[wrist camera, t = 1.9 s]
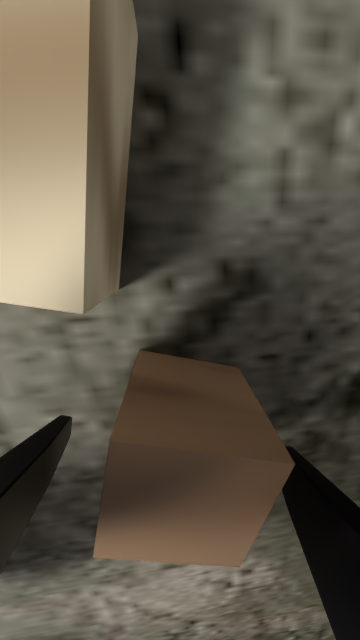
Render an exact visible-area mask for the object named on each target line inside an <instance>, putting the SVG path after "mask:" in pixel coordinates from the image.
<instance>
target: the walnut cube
mask: <svg viewBox="0 0 360 640" xmlns="http://www.w3.org/2000/svg"><path fill="white" fill-rule="evenodd" d="M294 466H295V463H294V461H293V459H292V458H291V456H290V454H289V453H288V451H287V449H286V447H285V446H284V444H283V442H282V441H281V439H280V437H279V436H278V434H277V432H276V430H275V429H274V427H273V425H272V424H271V422H270V420H269V419H268V417H267V415H266V413H265V412H264V410H263V408H262V407H261V405H260V403H259V401H258V400H257V398H256V396H255V395H254V393H253V391H252V390H251V388H250V386H249V384H248V383H247V381H246V379H245V378H244V376H243V374H242V373H241V371H240V369H239V367H234V366H228V365H222V364H216V363H211V362H205V361H199V360H194V359H188V358H182V357H177V356H171V355H165V354H159V353H154V352H148V351H142V350H139V353H138V356H137V359H136V362H135V366H134V369H133V372H132V375H131V378H130V381H129V384H128V387H127V390H126V393H125V396H124V399H123V402H122V405H121V408H120V411H119V414H118V417H117V420H116V423H115V426H114V429H113V432H112V435H111V438H110V442H109V449H108V456H107V463H106V470H105V477H104V484H103V490H102V497H101V504H100V511H99V518H98V525H97V532H96V539H95V545H94V552H93V558H106V559H121V560H136V561H152V562H167V563H182V564H197V565H212V566H227V567H240V566H241V564H242V562H243V561H244V559H245V557H246V555H247V553H248V551H249V549H250V548H251V546H252V544H253V542H254V540H255V538H256V536H257V535H258V533H259V531H260V529H261V527H262V525H263V523H264V522H265V520H266V518H267V516H268V514H269V512H270V510H271V508H272V507H273V505H274V503H275V501H276V499H277V497H278V495H279V494H280V492H281V490H282V488H283V486H284V484H285V482H286V481H287V479H288V477H289V475H290V473H291V471H292V469H293V468H294Z"/></svg>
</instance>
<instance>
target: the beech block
mask: <svg viewBox="0 0 360 640" xmlns="http://www.w3.org/2000/svg"><path fill="white" fill-rule="evenodd" d="M137 44H138V31H137V25H136V18H135V12H134V5H133V0H0V302H2V303H9V304H16V305H23V306H30V307H37V308H43V309H50V310H57V311H64V312H71V313H78V314H84V313H86V312H87V311H89V310H90V309H91V308H93V307H94V306H96V305H97V304H99V303H100V302H101V301H103V300H104V299H106V298H107V297H109V296H110V295H111V294H113V293H114V292H116V291H117V290H119V280H120V267H121V254H122V241H123V228H124V215H125V202H126V189H127V175H128V162H129V149H130V136H131V123H132V110H133V97H134V83H135V70H136V57H137Z"/></svg>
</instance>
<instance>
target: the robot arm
mask: <svg viewBox="0 0 360 640" xmlns="http://www.w3.org/2000/svg"><path fill="white" fill-rule="evenodd" d="M71 426H72V417H70V416H65V415H61V416H59V417H57V418H56V419H54V420H53V421H52V422H50V423H49V424H47V425H46V426H44V427H43V428H42V429H40V430H39V431H37V432H36V433H34V434H33V435H32V436H30V437H29V438H27V439H26V440H24V441H23V442H22V443H20V444H19V445H17V446H16V447H14V448H13V449H12V450H10V451H9V452H7V453H6V454H4V455H3V456H2V457H0V573H1V571H2V569H3V567H4V566H5V564H6V562H7V560H8V558H9V556H10V555H11V553H12V551H13V549H14V547H15V546H16V544H17V542H18V540H19V538H20V536H21V535H22V533H23V531H24V529H25V527H26V526H27V524H28V522H29V520H30V518H31V516H32V515H33V513H34V511H35V509H36V507H37V505H38V504H39V502H40V500H41V498H42V496H43V495H44V493H45V491H46V489H47V487H48V485H49V483H50V481H51V479H52V477H53V475H54V472H55V470H56V468H57V465H58V463H59V461H60V459H61V456H62V454H63V452H64V449H65V447H66V445H67V443H68V440H69V438H70V435H71ZM285 447H286V449H287V451H288V453H289V454H290V456H291V458H292V459H293V461H294V463H295V466H294V468H293V469H292V471H291V473H290V475H289V477H288V479H287V481H286V482H285V484H284V486H283V488H282V491H283V495H284V498H285V502H286V505H287V508H288V511H289V514H290V516H291V519H292V522H293V525H294V527H295V530H296V533H297V535H298V538H299V541H300V544H301V546H302V549H303V552H304V554H305V557H306V560H307V562H308V565H309V568H310V571H311V573H312V576H313V579H314V581H315V584H316V587H317V590H318V592H319V595H320V598H321V600H322V603H323V606H324V608H325V611H326V614H327V617H328V619H329V622H330V625H331V627H332V630H333V633H334V636H335V638H336V640H360V507H358V506H357V505H356V504H355V503H354V502H353V501H352V500H351V499H349V498H348V497H347V496H346V495H345V494H344V493H343V492H342V491H341V490H339V489H338V488H337V487H336V486H335V485H334V484H333V483H332V482H330V481H329V480H328V479H327V478H326V477H325V476H324V475H323V474H322V473H320V472H319V471H318V470H317V469H316V468H315V467H314V466H313V465H311V464H310V463H309V462H308V461H307V460H306V459H305V458H304V457H302V456H301V455H300V454H299V453H298V452H297V451H296V450H295V449H294V448H292V447H290V446H285Z"/></svg>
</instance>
